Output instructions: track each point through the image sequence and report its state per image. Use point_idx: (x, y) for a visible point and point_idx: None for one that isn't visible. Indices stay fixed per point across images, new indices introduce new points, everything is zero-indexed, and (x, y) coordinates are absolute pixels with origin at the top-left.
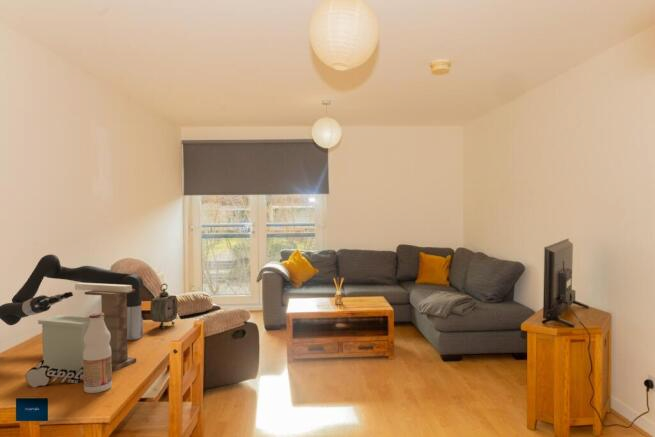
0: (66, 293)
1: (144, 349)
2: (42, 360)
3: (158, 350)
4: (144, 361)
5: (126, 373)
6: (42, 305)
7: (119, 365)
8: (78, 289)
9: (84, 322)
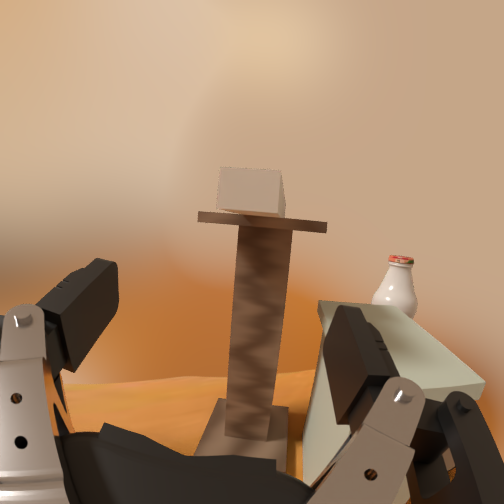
0: (83, 297)
1: (111, 410)
2: None
3: (128, 389)
4: (215, 394)
5: (295, 394)
6: (433, 498)
7: (275, 406)
8: (278, 213)
9: (381, 306)
